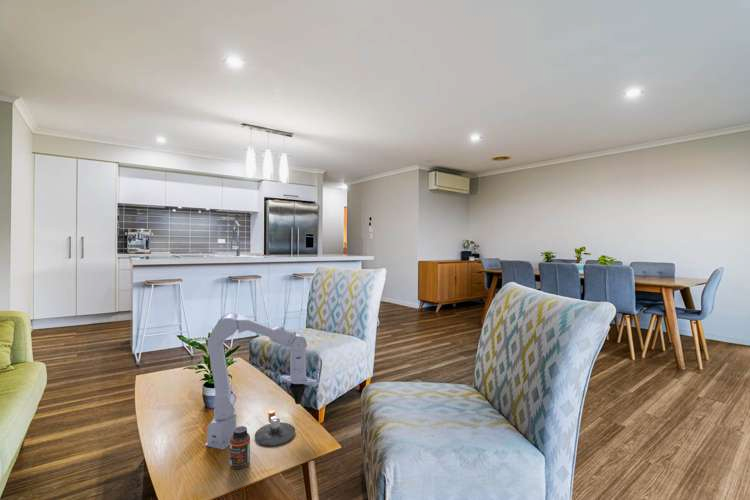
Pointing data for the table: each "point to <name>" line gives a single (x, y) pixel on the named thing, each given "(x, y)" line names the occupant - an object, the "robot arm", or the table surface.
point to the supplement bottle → (239, 448)
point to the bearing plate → (274, 435)
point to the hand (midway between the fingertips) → (298, 402)
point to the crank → (274, 422)
